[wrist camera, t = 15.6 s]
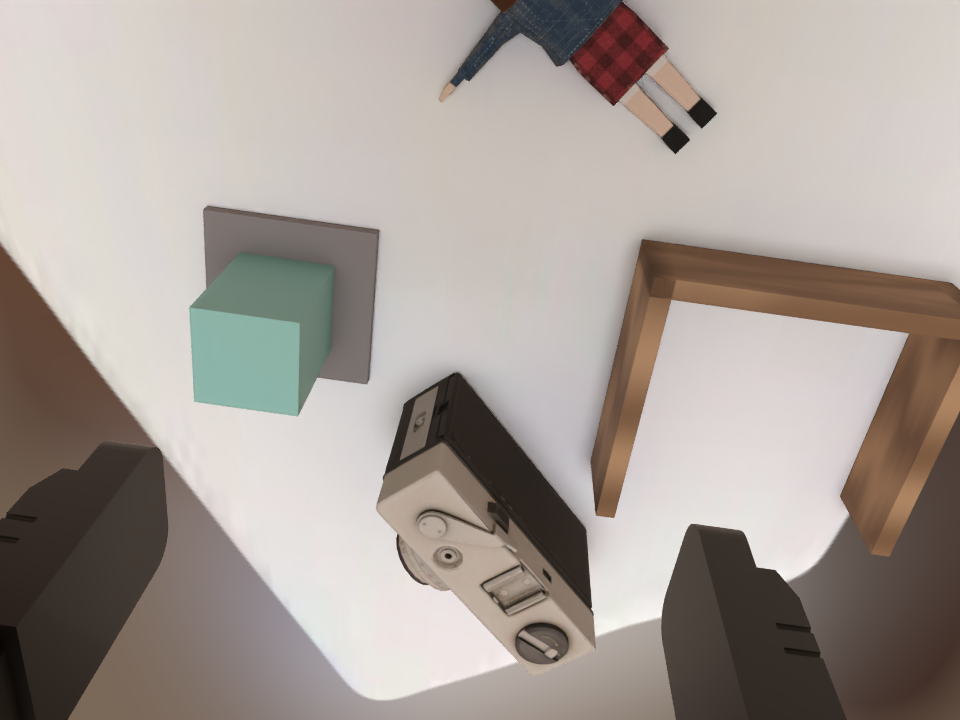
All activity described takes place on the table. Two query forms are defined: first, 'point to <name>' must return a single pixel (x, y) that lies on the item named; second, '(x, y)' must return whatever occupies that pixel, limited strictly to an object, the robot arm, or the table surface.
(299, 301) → the block
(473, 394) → the camera
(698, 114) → the toy
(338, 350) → the mat
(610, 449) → the bay
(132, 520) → the robot arm
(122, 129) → the table surface
